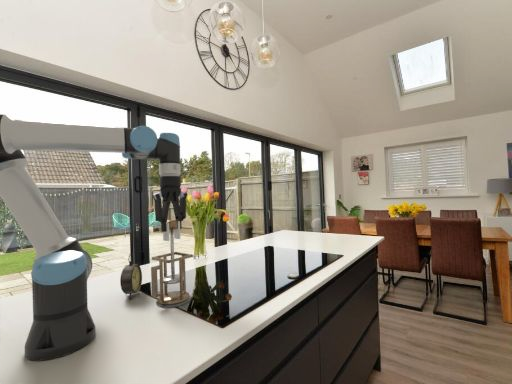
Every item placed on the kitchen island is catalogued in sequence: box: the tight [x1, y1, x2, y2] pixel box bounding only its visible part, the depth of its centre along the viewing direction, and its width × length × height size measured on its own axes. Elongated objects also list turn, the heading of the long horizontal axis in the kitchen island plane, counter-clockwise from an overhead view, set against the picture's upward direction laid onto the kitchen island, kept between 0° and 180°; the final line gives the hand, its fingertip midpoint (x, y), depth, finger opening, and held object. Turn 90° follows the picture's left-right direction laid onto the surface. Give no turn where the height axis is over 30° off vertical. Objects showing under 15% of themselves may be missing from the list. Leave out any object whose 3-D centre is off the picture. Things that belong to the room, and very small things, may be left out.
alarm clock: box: [119, 253, 143, 300], centre depth 103 cm, size 11×5×16 cm, turn 5°
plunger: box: [163, 219, 184, 285], centre depth 97 cm, size 8×8×22 cm
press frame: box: [150, 251, 194, 309], centre depth 96 cm, size 14×12×16 cm
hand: (172, 239), depth 97 cm, fingers closed on plunger, 4 cm apart
